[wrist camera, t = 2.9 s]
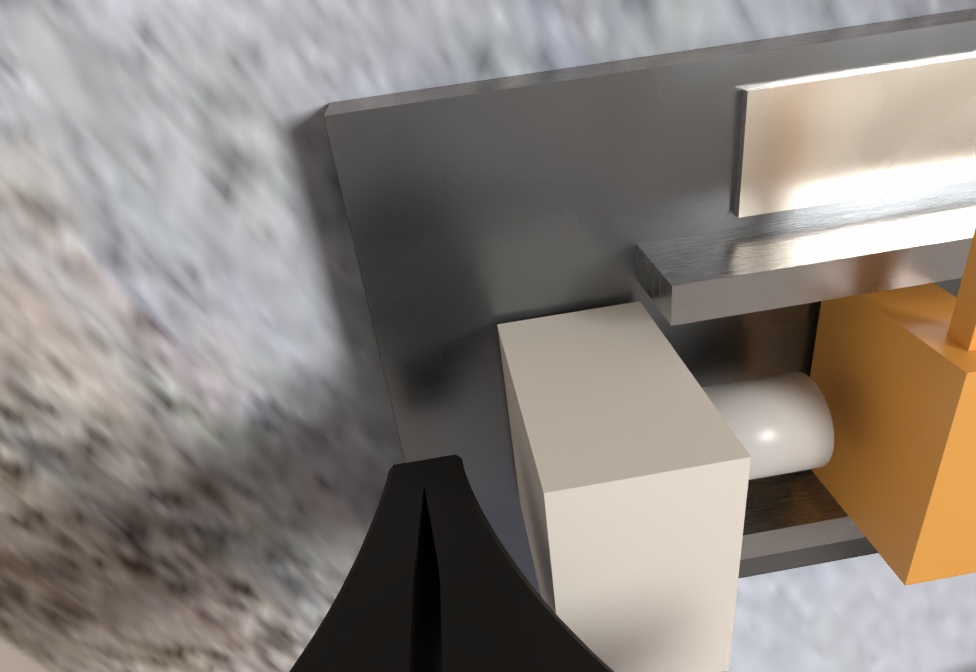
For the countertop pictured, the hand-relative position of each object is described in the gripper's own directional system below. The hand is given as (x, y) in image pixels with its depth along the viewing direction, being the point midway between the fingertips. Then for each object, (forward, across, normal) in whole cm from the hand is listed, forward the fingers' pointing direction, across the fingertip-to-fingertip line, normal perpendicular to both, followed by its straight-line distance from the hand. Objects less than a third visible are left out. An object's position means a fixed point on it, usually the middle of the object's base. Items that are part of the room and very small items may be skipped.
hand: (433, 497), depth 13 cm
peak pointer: (+2, -10, -2) cm, 10 cm away
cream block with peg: (+2, -5, 0) cm, 5 cm away
